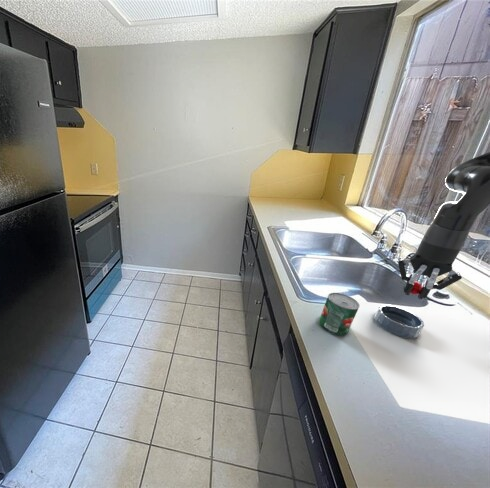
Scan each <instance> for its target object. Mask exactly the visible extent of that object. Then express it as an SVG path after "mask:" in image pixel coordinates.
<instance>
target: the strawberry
mask: <svg viewBox="0 0 490 488" xmlns="http://www.w3.org/2000/svg"><path fill="white" fill-rule="evenodd" d="M422 287H423V285H422V284H421V283H420V282H419V281H417V280H416V281H415V283H414V286H413V288H412V290H411V292H410V294H412V295H418V294H419V293H420V291H421V289H422Z"/></svg>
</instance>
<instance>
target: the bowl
mask: <svg viewBox="0 0 490 488" xmlns="http://www.w3.org/2000/svg"><path fill="white" fill-rule="evenodd" d="M373 319H374V322H375V323H376V324H377V325H378V326H379V327H380V328H381V329H383V330H384V331H386V332H387V333H390V334H391V335H394V336H397V337H400V338H404V339H417V338H418V337H419V335H420V333H421V332H422V331H423V328H424V327H425V323H424V321H423V319H422V318H421V317H419V316H418V315H417V314H415V313H413V312H411V311H410V310H408V309H406V308H402V307H399V306H397V305H392V304H381V305H380V306H378V307H377V310H376V312H375V315H374V317H373ZM397 321H398V322H397Z"/></svg>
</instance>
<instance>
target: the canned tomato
mask: <svg viewBox="0 0 490 488" xmlns="http://www.w3.org/2000/svg"><path fill="white" fill-rule="evenodd" d="M359 308H360V303H359V302H358V301H357V299H355V298H353V297H352V296H350V295H348V294H344V293H341V292H330V293H328V295H327V297H326V301H325V303H324V306H323V309H322V311H321V314H320V316H319V319H318V325H319V326H320V327H321V329H323V330H324V331H325V332H327V333H330V334H332V335H333V336H338V337H341V336H342V337H343V336H346V335H347V334H348V332H349V330H350V329H351V327H352V324H353V322H354V319H355V318H356V315H357V313H358V311H359Z"/></svg>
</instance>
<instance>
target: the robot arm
mask: <svg viewBox="0 0 490 488" xmlns="http://www.w3.org/2000/svg"><path fill="white" fill-rule="evenodd" d="M444 182H445V186H446V187H447V188H448V189H449V190H451V191H453V192H457V193H461V194H463V196H461V198H460V199H459V200H457V201H447V202H445V203H443V204H441V206H440V207H439V208H438V210H437V213H436V214H435V216H434V218H433V220H432V222H431V223H430V225H429V226H428V228H427V229H426V231H425V233H424V235H423V237H422V239H421V241H420V242H419V245H418V247H417V249H416V251H415V253H414V254H413V255H412V256H411V257H409V258H402V257H399V258H397V265H398V269H399V273H400V277H401V280H402V281H405V285H404V286H403V293H404V294H405V295H406V296H409V295H410V294H411V293H410V292H411V290H412V288H413V286H414V283H415V281H416V282H417V280H418V279H420V277H421V276H426V280H425V283H424V284H423V285H422V289H421V291H420V293H418V294H417V298H418V299H419V300H423V299H426V298H427V297H428V295H429V294H430V292H431V290H438V291H441V290H443V289H445V288H447V287H449V286H451V285H453V284H454V283H456V282H458V281H460V280H462V279H463V277H462V275H461V273H460V272H459V271H456V270H454V269H453V263H454V262H455V261H456V258H457V257H458V255H459V254H460V251H461V250H462V249H463V248H464V246H465V244H466V241H467V239H468V238H469V234H470V232H471V230H472V229H473V226H474V225H475V223H476V222H477V220H478V218H479V216H481V214H482V213H484V211H486V210H487V209H488V208H489V207H490V151H488V152H485V153H483V154H480V155H478V156H475V157H473V158H471V159H468V160H466V161H464V162H462V163H460V164H457V166H455V167H454V168H453V169H451V170H450V171H449V173H448V174H447V175H446V178H445V181H444ZM409 264H410V265H411V267H412V269H413V270H412V271H411V273H410V275H408V274H407V270H406V268H407V267H408V266H409ZM443 275H446V277H443V278H442V279H440V280H438V281H437V279H438V277H441V276H443Z"/></svg>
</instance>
